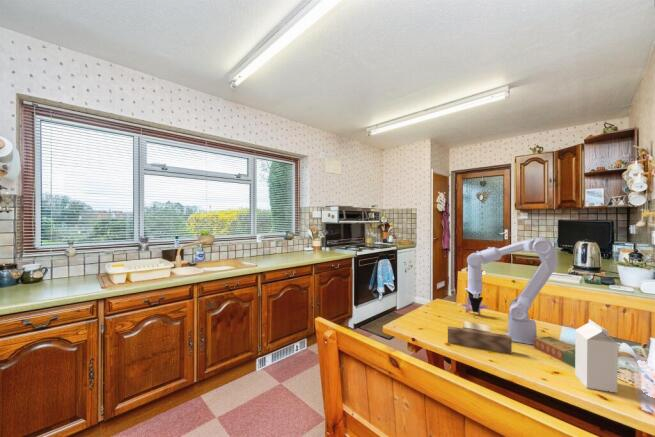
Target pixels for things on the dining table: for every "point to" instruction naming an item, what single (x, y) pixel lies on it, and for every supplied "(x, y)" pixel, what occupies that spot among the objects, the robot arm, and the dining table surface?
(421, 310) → the dining table surface
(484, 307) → the lily
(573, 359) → the carton
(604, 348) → the milk carton
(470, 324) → the maple block
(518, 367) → the dining table surface
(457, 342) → the walnut board
